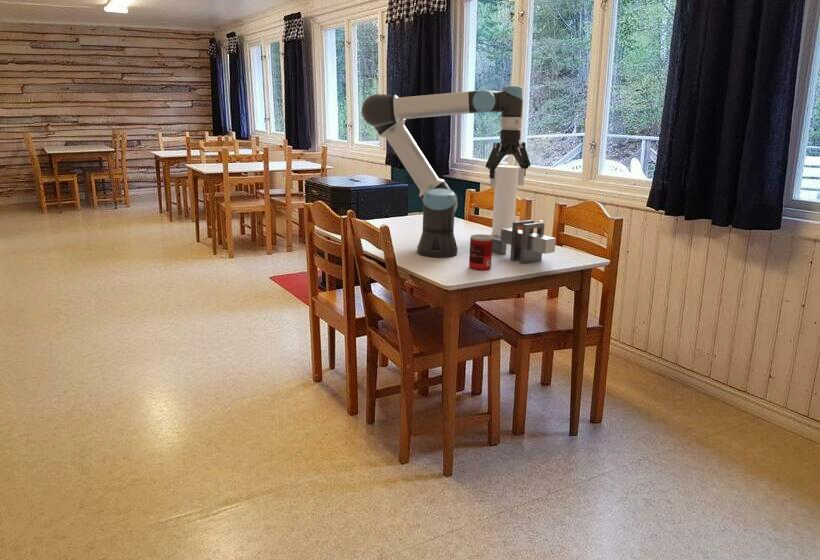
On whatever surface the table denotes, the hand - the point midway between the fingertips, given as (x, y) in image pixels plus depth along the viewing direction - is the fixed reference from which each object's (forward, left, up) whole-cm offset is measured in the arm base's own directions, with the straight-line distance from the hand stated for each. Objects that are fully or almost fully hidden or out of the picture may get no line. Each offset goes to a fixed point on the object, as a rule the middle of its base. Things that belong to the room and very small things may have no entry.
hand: (507, 186), depth 236 cm
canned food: (-28, -17, -25) cm, 41 cm away
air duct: (-6, -18, -20) cm, 27 cm away
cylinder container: (+20, +21, -25) cm, 38 cm away
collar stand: (-5, -18, -25) cm, 31 cm away
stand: (-6, -1, -25) cm, 25 cm away
